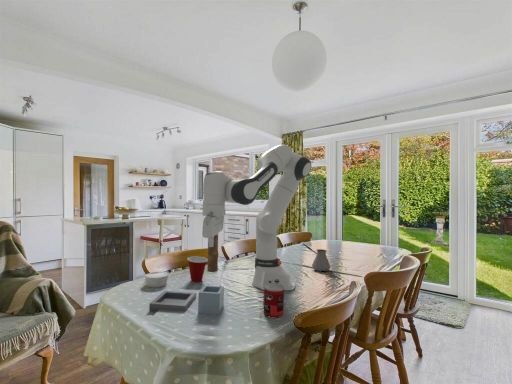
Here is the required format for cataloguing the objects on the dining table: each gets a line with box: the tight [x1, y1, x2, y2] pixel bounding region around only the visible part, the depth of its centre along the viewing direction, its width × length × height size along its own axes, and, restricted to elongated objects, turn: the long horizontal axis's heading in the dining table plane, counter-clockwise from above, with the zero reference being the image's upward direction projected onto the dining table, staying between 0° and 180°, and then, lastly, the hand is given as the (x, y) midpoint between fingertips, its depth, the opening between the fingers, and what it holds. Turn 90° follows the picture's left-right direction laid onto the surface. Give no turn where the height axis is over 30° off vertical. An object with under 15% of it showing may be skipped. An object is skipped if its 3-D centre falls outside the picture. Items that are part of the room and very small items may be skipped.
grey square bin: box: [197, 284, 225, 315], centre depth 113 cm, size 8×8×9 cm
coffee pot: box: [301, 243, 331, 272], centre depth 183 cm, size 21×12×15 cm, turn 43°
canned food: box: [263, 284, 285, 318], centre depth 113 cm, size 8×8×11 cm
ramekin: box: [144, 271, 169, 288], centre depth 143 cm, size 11×11×5 cm
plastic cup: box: [187, 255, 208, 283], centre depth 152 cm, size 11×11×12 cm
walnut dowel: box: [206, 235, 219, 273], centre depth 114 cm, size 4×4×14 cm
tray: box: [148, 290, 197, 312], centre depth 119 cm, size 15×15×3 cm
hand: (213, 245), depth 113 cm, fingers closed on walnut dowel, 4 cm apart
